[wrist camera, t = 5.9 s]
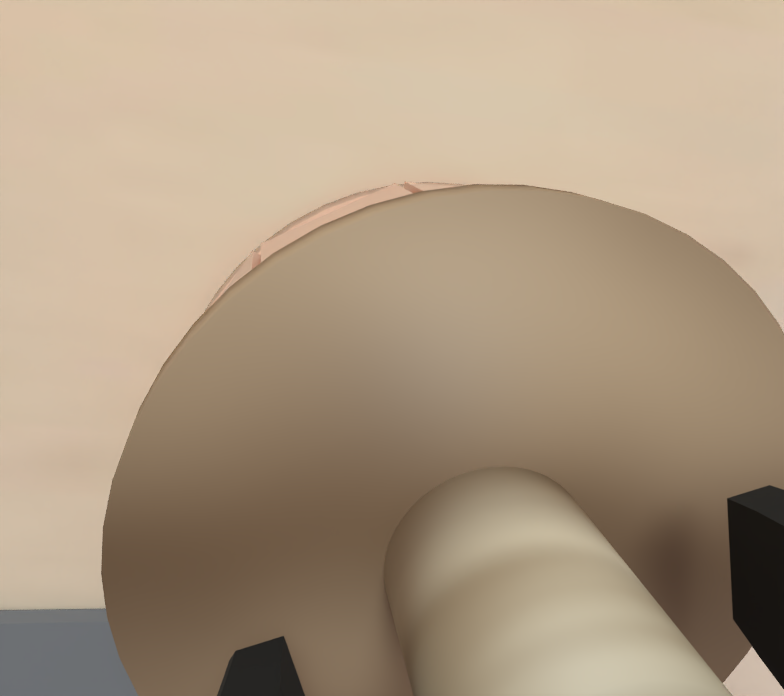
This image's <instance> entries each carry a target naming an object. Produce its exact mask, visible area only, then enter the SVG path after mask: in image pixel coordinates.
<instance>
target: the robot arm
mask: <svg viewBox="0 0 784 696" xmlns="http://www.w3.org/2000/svg"><path fill="white" fill-rule="evenodd" d="M727 509H728V529H729V549H730V570H731V590H732V611H733V620H734V621H735V623H736V624H737V626H738V627H739V628H740V630H741V631H742V633H743V634H744V635H745V637H746V638H747V640H748V641H749V643H750V644H751V645H752V647H753V648H754V650H755V651H756V653H757V654H758V655H759V657H760V658H761V659H762V661H763V662H764V664H765V665H766V666H767V668H768V669H769V670H770V672H771V673H772V674H773V676H774V677H775V678H776V680H777V681H778V682H779V684H780V685H781V686H782V688H783V689H784V490H783V489H780V488H777V487H774V486H771V485H768V486H765V487H762V488H759V489H755V490H752V491H749V492H746V493H743V494H739V495H736V496H733V497H730V498H727ZM217 696H305V694H304V691H303V688H302V686H301V683H300V680H299V677H298V674H297V671H296V669H295V666H294V663H293V660H292V657H291V655H290V652H289V649H288V646H287V643H286V641H285V638H284V636H281V637H278V638H275V639H272V640H269V641H265V642H262V643H259V644H256V645H252V646H249V647H246V648H243V649H240V650H236V651H235V652H234V654H233V655H232V657H231V659H230V660H229V662H228V665H227V668H226V671H225V674H224V677H223V680H222V683H221V686H220V689H219V692H218V694H217Z"/></svg>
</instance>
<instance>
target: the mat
mask: <svg viewBox="0 0 784 696" xmlns="http://www.w3.org/2000/svg"><path fill="white" fill-rule="evenodd" d="M0 696H138V694H137V692H136V690H135V688H134V686H133V684H132V682H131V680H130V678H129V676H128V674H127V672H126V670H125V668H124V666H123V664H122V662H121V660H120V658H119V655H118V652H117V648H116V645H115V642H114V639H113V635H112V632H111V629H110V625H109V622H108V619H107V613H106V609H59V610H0Z"/></svg>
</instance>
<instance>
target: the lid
mask: <svg viewBox="0 0 784 696" xmlns="http://www.w3.org/2000/svg"><path fill="white" fill-rule="evenodd" d="M768 485H771V486H774V487H777V488H780V489H783V490H784V333H783V331H782V329H781V327H780V325H779V324H778V322H777V321H776V319H775V318H774V317H773V315H772V314H771V313H770V311H769V310H768V308H767V307H766V306H765V304H764V303H763V302H762V300H761V299H760V297H759V296H758V295H757V293H756V292H755V291H754V290H753V289H752V288H751V287H750V286H749V285H748V284H747V283H746V282H745V281H744V280H743V279H742V278H741V277H740V276H739V275H738V274H737V273H736V272H735V271H734V270H733V269H732V268H731V267H730V266H729V265H728V264H727V263H726V262H725V261H724V260H723V259H721V258H720V257H718V256H717V255H715V254H714V253H713V252H711V251H710V250H708V249H707V248H706V247H704V246H703V245H701V244H700V243H698V242H697V241H696V240H694V239H693V238H691V237H690V236H689V235H687V234H685V233H683V232H681V231H679V230H677V229H675V228H673V227H671V226H669V225H667V224H665V223H663V222H660V221H658V220H656V219H654V218H652V217H650V216H648V215H646V214H644V213H640V212H637V211H634V210H631V209H627V208H624V207H621V206H618V205H614V204H611V203H608V202H605V201H602V200H598V199H595V198H591V197H587V196H584V195H580V194H576V193H572V192H566V191H560V190H553V189H547V188H540V187H534V186H527V185H479V184H473V185H465V186H457V187H450V188H442V189H434V190H426V191H420V192H416V193H413V194H409V195H405V196H402V197H398V198H394V199H390V200H387V201H383V202H379V203H375V204H372V205H369V206H366V207H364V208H362V209H359V210H357V211H354V212H352V213H350V214H347V215H345V216H342V217H340V218H338V219H335V220H333V221H330V222H328V223H326V224H323V225H321V226H319V227H317V228H315V229H314V230H312V231H310V232H309V233H307V234H305V235H303V236H302V237H300V238H298V239H297V240H295V241H293V242H291V243H290V244H288V245H286V246H285V247H283V248H281V249H279V250H278V251H276V252H274V253H273V254H271V255H270V256H269V257H268V258H266V259H265V260H264V261H262V262H261V263H260V264H259V265H257V266H256V267H255V268H253V269H252V270H251V271H249V272H248V273H247V274H246V275H244V276H243V277H242V278H240V279H239V280H238V281H237V282H235V283H234V284H233V285H231V286H230V287H229V288H228V289H227V290H226V291H225V292H224V293H223V294H222V295H221V296H220V297H219V298H218V300H217V301H216V302H215V303H214V304H213V305H212V306H211V307H210V308H209V309H208V310H207V311H206V312H205V313H204V314H203V315H202V316H201V317H200V318H199V319H198V320H197V321H196V322H195V323H194V324H193V325H192V327H191V328H190V329H189V331H188V332H187V333H186V335H185V336H184V337H183V339H182V340H181V342H180V343H179V344H178V346H177V347H176V348H175V350H174V351H173V352H172V354H171V355H170V356H169V358H168V359H167V360H166V362H165V363H164V364H163V366H162V368H161V370H160V372H159V374H158V375H157V377H156V379H155V381H154V383H153V385H152V386H151V388H150V390H149V392H148V394H147V396H146V397H145V399H144V401H143V403H142V405H141V407H140V409H139V411H138V414H137V416H136V419H135V421H134V424H133V426H132V429H131V431H130V434H129V437H128V439H127V442H126V445H125V448H124V450H123V453H122V456H121V458H120V461H119V464H118V467H117V469H116V472H115V475H114V478H113V480H112V485H111V490H110V495H109V500H108V505H107V510H106V515H105V520H104V526H103V542H102V571H101V575H102V582H103V590H104V598H105V605H106V613H107V619H108V622H109V625H110V629H111V632H112V635H113V639H114V642H115V645H116V648H117V652H118V655H119V658H120V660H121V662H122V664H123V666H124V668H125V670H126V672H127V674H128V676H129V678H130V680H131V682H132V684H133V686H134V688H135V690H136V692H137V694H138V696H217V694H218V692H219V689H220V686H221V683H222V680H223V677H224V674H225V671H226V668H227V665H228V662H229V660H230V659H231V657H232V655H233V654H234V652H235V651H236V650H240V649H243V648H246V647H249V646H252V645H256V644H259V643H262V642H265V641H269V640H272V639H275V638H278V637H281V636H284V638H285V641H286V643H287V646H288V649H289V652H290V655H291V657H292V660H293V663H294V666H295V669H296V671H297V674H298V677H299V680H300V683H301V686H302V688H303V691H304V694H305V696H732V694H731V693H730V692H729V691H728V689H727V688H726V687H725V686H724V685H723V682H724V681H725V680H726V678H727V677H728V676H729V675H730V674H731V672H732V671H733V670H734V669H735V667H736V666H737V665H738V664H739V663H740V661H741V660H742V659H743V658H744V656H745V655H746V654H747V653H748V651H749V650H750V648H751V647H752V645H751V644H750V643H749V641H748V640H747V638H746V637H745V635H744V634H743V633H742V631H741V630H740V628H739V627H738V626H737V624H736V623H735V621H734V620H733V611H732V590H731V570H730V549H729V529H728V509H727V498H730V497H733V496H736V495H739V494H743V493H746V492H749V491H752V490H755V489H759V488H762V487H765V486H768Z"/></svg>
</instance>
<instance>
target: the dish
mask: <svg viewBox="0 0 784 696" xmlns="http://www.w3.org/2000/svg"><path fill="white" fill-rule="evenodd" d="M457 186H465V185H462V184H449V183H428V182H423V183H412V182H405V184H401V185H397V184H395V183H394V184H392V185H390V186H386V187H381V188H377V189H373V190H368V191H364V192H359V193H355V194H353V195H350V196H347V197H345V198H342V199H339V200H337V201H334V202H331V203H329V204H326V205H323V206H321V207H319V208H318V209H316V210H314V211H312V212H310V213H308V214H306V215H304V216H303V217H301V218H299V219H297V220H295V221H293V222H291V223H290V224H289V225H287V226H286V227H284V228H283V229H282V230H280V231H279V232H277V233H276V234H275V235H273V236H272V237H270V238H269V239H268V240H266V241H265V242H263V243H261V245H260V246H259V247H258V248H257V249H256V250H255V251H252V252H251V253H250V255H249V256H248V257H247V258H246V259H245V260H244V261H243V262H242V263H241V264H240V265H239V266H238V267H237V268H236V269H235V270H234V272H233V273H232V274H231V275H230V277H229V278H228V279H227V280H226V281H225V283H224V284H223V285H222V286H221V288H220V289H219V290H218V291H217V293H216V294H215V295H214V297H213V299H212V300H211V302H210V304H209V305H208V307H207V309H206V310H205V312H206V311H207V310H208V309H209V308H210V307H211V306H212V305H213V304H214V303H215V302H216V301H217V300H218V298H219V297H220V296H221V295H222V294H223V293H224V292H225V291H226V290H227V289H228V288H229V287H230V286H231V285H233V284H234V283H235V282H237V281H238V280H239V279H240V278H242V277H243V276H244V275H246V274H247V273H248V272H249V271H251V270H252V269H253V268H255V267H256V266H257V265H259V264H260V263H261V262H262V261H264V260H265V259H266V258H268V257H269V256H270V255H271V254H273V253H274V252H276V251H278V250H279V249H281V248H283V247H285V246H286V245H288V244H290V243H291V242H293V241H295V240H297V239H298V238H300V237H302V236H303V235H305V234H307V233H309V232H310V231H312V230H314V229H315V228H317V227H319V226H321V225H323V224H326V223H328V222H330V221H333V220H335V219H338V218H340V217H342V216H345V215H347V214H350V213H352V212H354V211H357V210H359V209H362V208H364V207H366V206H369V205H372V204H375V203H379V202H383V201H387V200H390V199H394V198H398V197H402V196H405V195H409V194H413V193H416V192H420V191H426V190H434V189H442V188H450V187H457ZM205 312H204V313H205Z"/></svg>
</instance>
